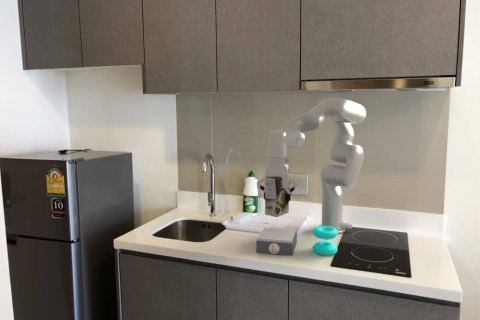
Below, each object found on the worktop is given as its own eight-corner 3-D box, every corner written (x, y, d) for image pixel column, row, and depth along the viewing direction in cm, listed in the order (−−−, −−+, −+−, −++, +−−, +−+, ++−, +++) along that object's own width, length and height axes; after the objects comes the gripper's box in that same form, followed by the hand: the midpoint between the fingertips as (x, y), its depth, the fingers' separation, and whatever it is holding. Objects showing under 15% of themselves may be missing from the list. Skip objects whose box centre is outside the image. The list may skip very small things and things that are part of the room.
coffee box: (277, 217, 161) (277, 178, 158) (264, 214, 165) (264, 176, 162) (289, 212, 168) (289, 175, 165) (276, 209, 172) (277, 173, 169)
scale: (296, 242, 174) (296, 229, 173) (292, 256, 159) (292, 242, 158) (263, 239, 178) (263, 227, 177) (255, 253, 163) (255, 239, 162)
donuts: (321, 223, 169) (342, 228, 162) (320, 245, 170) (341, 251, 164) (308, 229, 162) (330, 234, 155) (308, 252, 163) (329, 258, 156)
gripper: (299, 160, 164) (298, 200, 167) (258, 158, 168) (258, 198, 171) (297, 163, 157) (297, 205, 160) (254, 161, 161) (254, 203, 164)
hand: (277, 201), depth 165 cm, fingers closed on coffee box, 8 cm apart
